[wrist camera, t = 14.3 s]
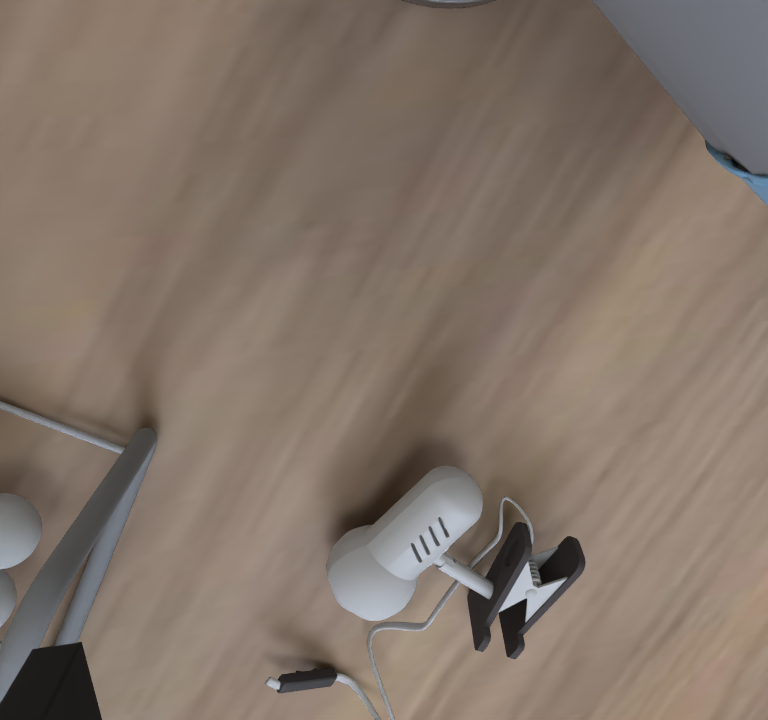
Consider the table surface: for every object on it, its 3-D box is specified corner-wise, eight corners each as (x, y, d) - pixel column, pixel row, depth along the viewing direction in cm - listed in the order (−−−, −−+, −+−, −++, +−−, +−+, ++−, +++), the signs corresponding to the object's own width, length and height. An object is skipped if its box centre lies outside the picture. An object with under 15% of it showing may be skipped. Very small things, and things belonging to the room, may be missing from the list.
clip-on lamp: (390, 689, 50) (584, 527, 43) (392, 782, 44) (616, 612, 37) (243, 612, 46) (431, 423, 39) (226, 703, 40) (441, 500, 34)
